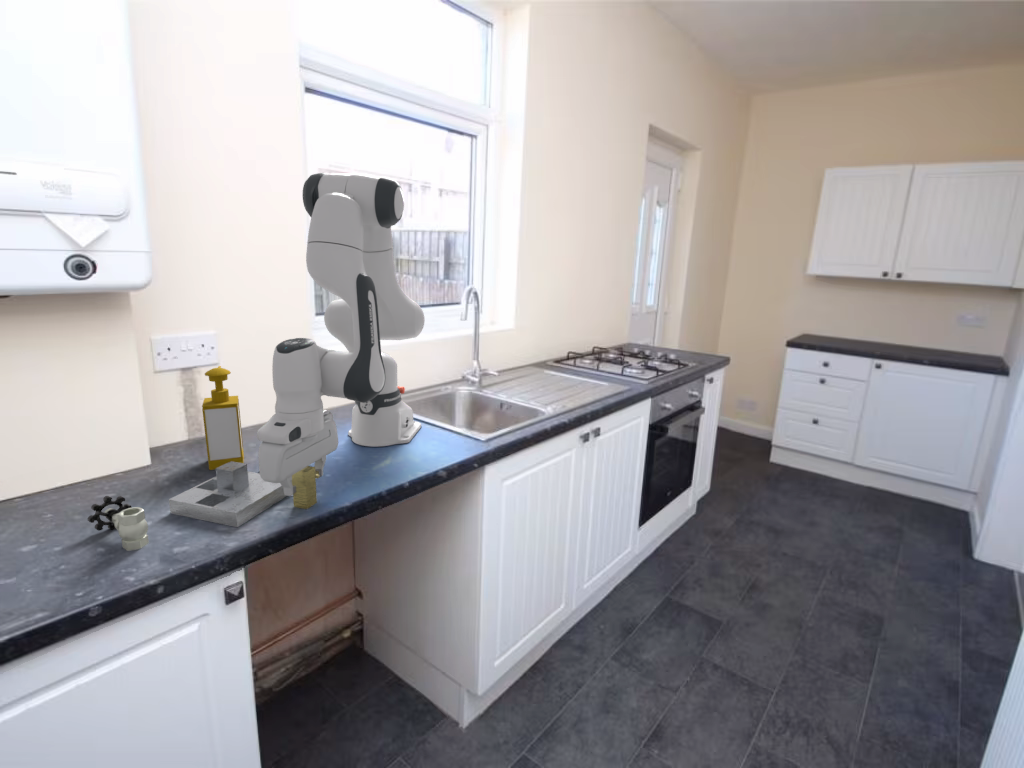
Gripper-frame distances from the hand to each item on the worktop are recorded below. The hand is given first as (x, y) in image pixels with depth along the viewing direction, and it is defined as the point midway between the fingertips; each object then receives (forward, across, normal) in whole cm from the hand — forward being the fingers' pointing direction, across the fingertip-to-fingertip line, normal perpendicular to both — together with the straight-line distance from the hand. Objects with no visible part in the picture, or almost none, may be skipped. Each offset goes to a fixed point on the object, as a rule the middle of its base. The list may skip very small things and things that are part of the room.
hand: (304, 485), depth 108 cm
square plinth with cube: (+4, +4, -14) cm, 15 cm away
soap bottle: (+4, -14, -33) cm, 36 cm away
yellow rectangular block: (+4, 0, 0) cm, 4 cm away
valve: (+5, +21, -22) cm, 31 cm away
